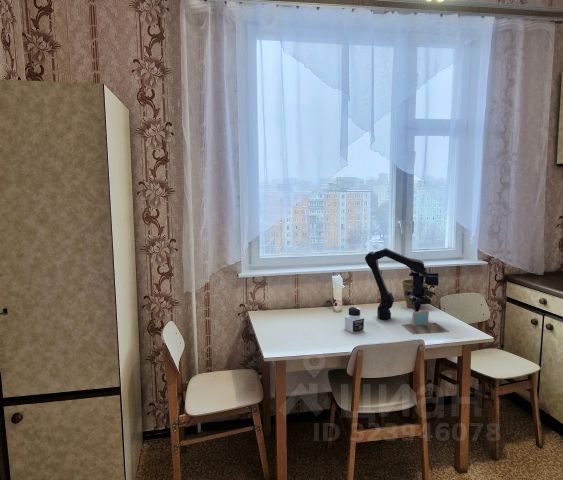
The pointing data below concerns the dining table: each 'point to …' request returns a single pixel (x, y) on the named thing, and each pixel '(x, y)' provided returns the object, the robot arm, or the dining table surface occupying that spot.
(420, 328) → the board
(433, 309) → the dining table surface
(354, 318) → the medicine bottle
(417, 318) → the tile
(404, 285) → the plant pot
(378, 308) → the robot arm
